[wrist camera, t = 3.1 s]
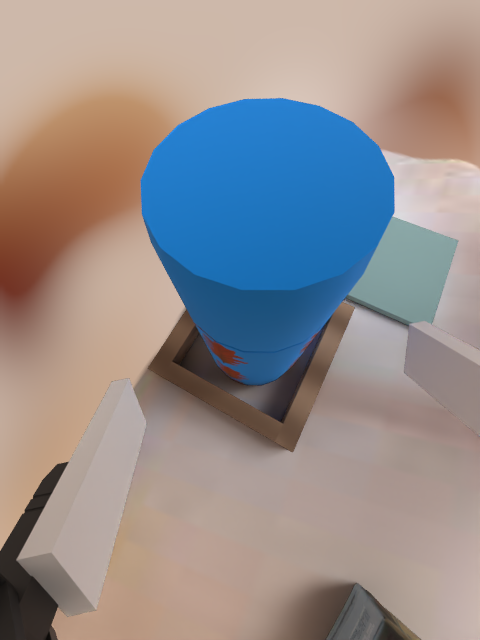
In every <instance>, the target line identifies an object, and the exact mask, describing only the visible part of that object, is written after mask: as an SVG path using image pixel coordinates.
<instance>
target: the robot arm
mask: <svg viewBox="0 0 480 640" xmlns="http://www.w3.org/2000/svg"><path fill="white" fill-rule="evenodd" d="M404 373H405V374H406V375H407V376H409V377H410V378H411V379H412V380H413V381H415V382H416V383H417V384H418V385H419V386H420V387H422V388H423V389H424V390H425V391H426V392H427V393H429V394H430V395H431V396H432V397H433V398H434V399H436V400H437V401H438V402H439V403H440V404H442V405H443V406H444V407H445V408H446V409H447V410H449V411H450V412H451V413H452V414H453V415H454V416H456V417H457V418H458V419H459V420H460V421H461V422H463V423H464V424H465V425H466V426H467V427H469V428H470V429H471V430H472V431H473V432H474V433H476V434H477V435H478V436H479V437H480V350H479V349H477V348H475V347H473V346H471V345H469V344H467V343H465V342H464V341H462V340H460V339H458V338H456V337H454V336H452V335H450V334H449V333H447V332H445V331H443V330H441V329H439V328H437V327H435V326H434V325H432V324H430V323H428V322H426V321H422V322H417V323H411V324H409V331H408V340H407V349H406V358H405V367H404ZM146 426H147V423H146V420H145V418H144V415H143V413H142V410H141V407H140V405H139V402H138V400H137V397H136V395H135V392H134V389H133V387H132V384H131V382H130V379H129V378H127V379H122V380H117V381H112V382H111V384H110V386H109V388H108V390H107V392H106V393H105V395H104V397H103V399H102V401H101V403H100V405H99V407H98V408H97V411H96V412H95V414H94V416H93V418H92V420H91V422H90V423H89V425H88V427H87V429H86V431H85V433H84V435H83V437H82V438H81V440H80V442H79V444H78V446H77V448H76V450H75V451H74V454H73V455H72V457H71V459H70V461H69V462H66V463H61V464H57V465H56V466H55V467H54V468H53V469H52V471H51V472H50V473H49V474H48V475H47V476H46V477H45V478H44V479H43V480H42V482H41V484H40V485H39V487H38V489H37V490H36V492H35V494H34V495H33V499H31V500H30V502H29V504H28V506H27V507H26V509H25V513H24V514H22V516H21V517H20V519H19V521H18V522H17V524H16V526H15V527H14V529H13V531H12V532H11V534H10V536H9V537H8V539H7V541H6V542H5V544H4V546H3V548H2V549H1V551H0V640H57V636H56V632H55V630H54V629H53V627H52V626H51V624H52V621H53V619H54V616H55V613H56V611H57V608H58V607H59V608H60V609H61V611H62V612H63V613H64V614H65V615H66V616H67V617H69V616H74V615H78V614H82V613H87V612H91V611H96V610H97V606H98V603H99V599H100V595H101V592H102V588H103V584H104V581H105V577H106V573H107V570H108V566H109V562H110V559H111V555H112V551H113V547H114V544H115V540H116V536H117V533H118V529H119V525H120V522H121V518H122V514H123V511H124V507H125V503H126V500H127V496H128V492H129V489H130V485H131V481H132V477H133V474H134V470H135V466H136V463H137V459H138V455H139V452H140V448H141V444H142V441H143V437H144V433H145V430H146Z"/></svg>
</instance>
